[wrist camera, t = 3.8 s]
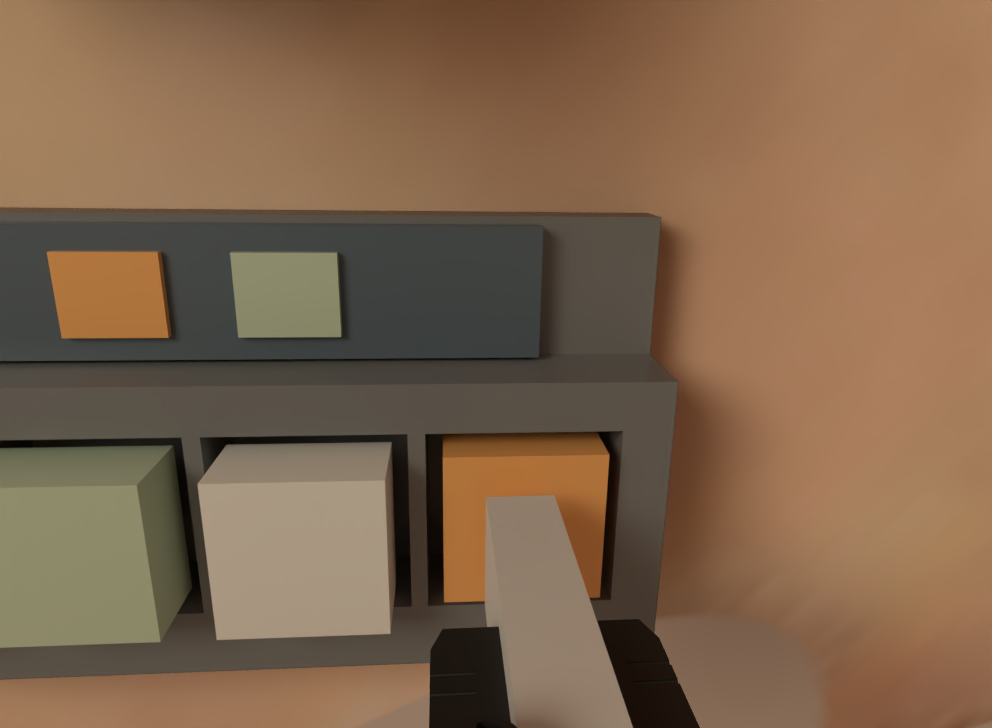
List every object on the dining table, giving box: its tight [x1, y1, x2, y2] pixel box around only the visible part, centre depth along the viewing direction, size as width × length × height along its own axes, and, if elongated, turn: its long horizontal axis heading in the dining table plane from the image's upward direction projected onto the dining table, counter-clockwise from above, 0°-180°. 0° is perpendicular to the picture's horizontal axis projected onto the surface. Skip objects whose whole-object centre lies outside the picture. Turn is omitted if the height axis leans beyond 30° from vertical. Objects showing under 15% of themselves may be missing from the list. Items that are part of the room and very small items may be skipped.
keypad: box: [0, 208, 678, 680], centre depth 17 cm, size 22×11×4 cm, turn 89°
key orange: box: [443, 432, 609, 602], centre depth 17 cm, size 4×4×2 cm
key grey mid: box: [197, 442, 396, 640], centre depth 16 cm, size 4×4×2 cm
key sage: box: [0, 445, 192, 648], centre depth 15 cm, size 4×4×2 cm
